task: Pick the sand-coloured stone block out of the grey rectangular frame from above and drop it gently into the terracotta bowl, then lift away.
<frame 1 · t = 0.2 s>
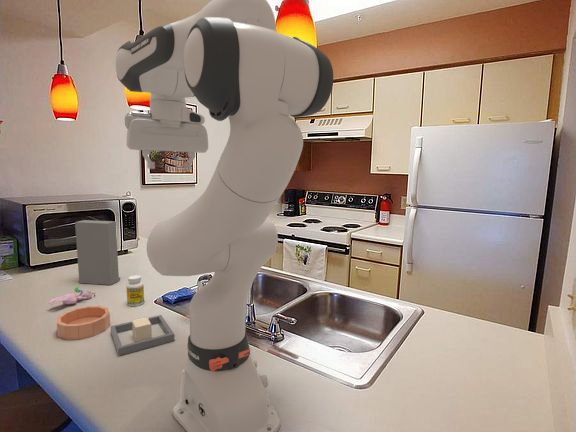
hand: (170, 169, 88), 47 cm above the countertop, tool pointing down, fingers open, 8 cm apart
grey rectangular frame: (142, 336, 94), on the countertop
tall grey upright pillar: (100, 282, 135), on the countertop
rabbit figure: (73, 304, 114), on the countertop
cream block: (142, 337, 94), resting in grey rectangular frame
bowl: (84, 328, 97), on the countertop
supplement bottle: (135, 304, 115), on the countertop
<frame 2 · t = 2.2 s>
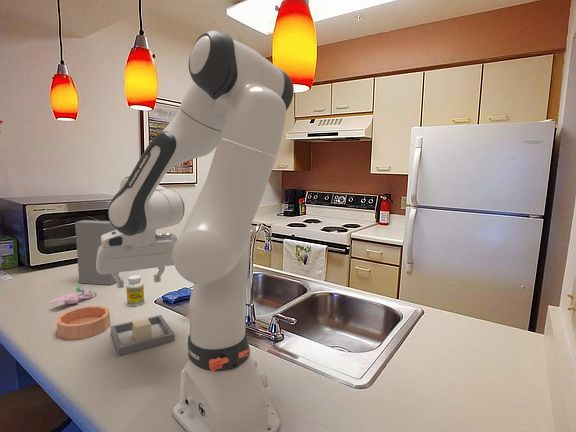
hand: (139, 284, 91), 15 cm above the countertop, tool pointing down, fingers open, 8 cm apart
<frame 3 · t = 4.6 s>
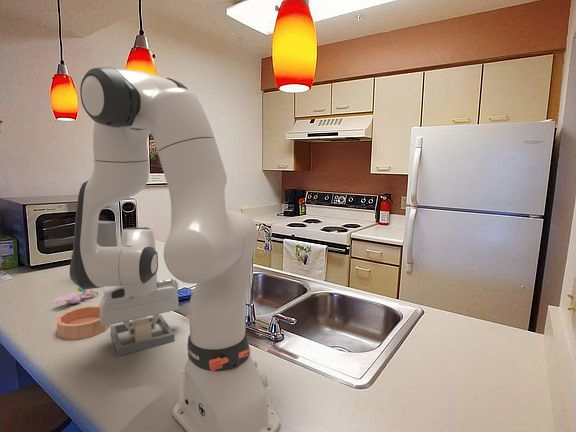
hand: (141, 331, 93), 2 cm above the countertop, tool pointing down, fingers closed on cream block, 4 cm apart
cream block: (142, 336, 94), resting in grey rectangular frame, touching gripper
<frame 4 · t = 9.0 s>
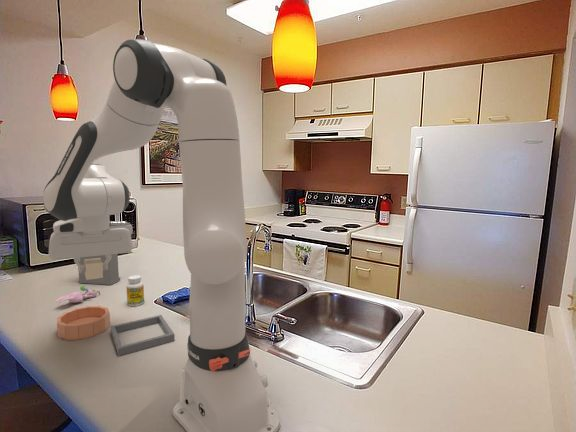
hand: (93, 270, 94), 18 cm above the countertop, tool pointing down, fingers closed on cream block, 4 cm apart
cream block: (93, 276, 94), point 16 cm above the countertop, touching gripper
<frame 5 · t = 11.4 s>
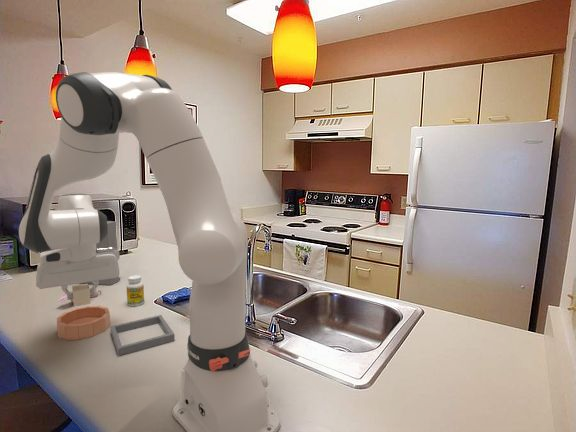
hand: (81, 297, 96), 10 cm above the countertop, tool pointing down, fingers closed on cream block, 4 cm apart
cream block: (81, 302, 96), point 8 cm above the countertop, touching gripper
when the fingers open (5 cm above the countertop, at t = 13.3 s): cream block drops 2 cm, resting on bowl.
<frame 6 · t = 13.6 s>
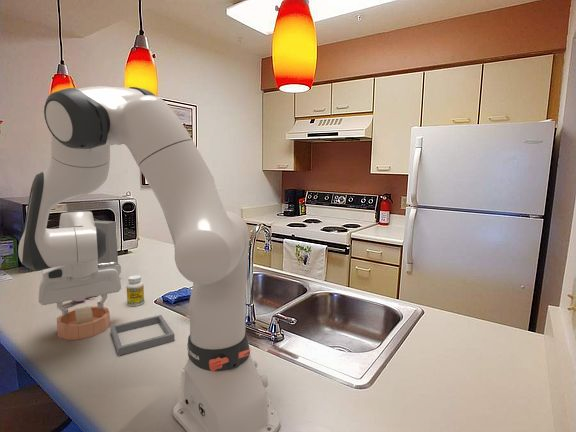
hand: (83, 311, 97), 5 cm above the countertop, tool pointing down, fingers open, 7 cm apart
cream block: (84, 324, 97), point 1 cm above the countertop, touching bowl
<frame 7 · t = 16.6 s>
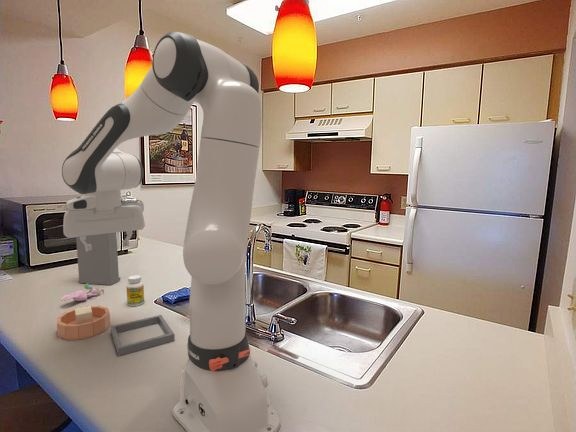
hand: (108, 248, 95), 24 cm above the countertop, tool pointing down, fingers open, 8 cm apart
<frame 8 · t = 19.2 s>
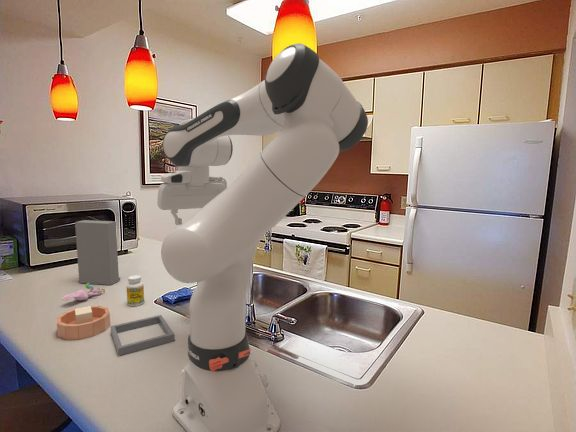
hand: (194, 223, 99), 31 cm above the countertop, tool pointing down, fingers open, 8 cm apart
at the end: cream block inside the target area on the bowl (0.0 cm from its centre), point 1.0 cm above the bowl's base; the gripper is holding nothing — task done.
